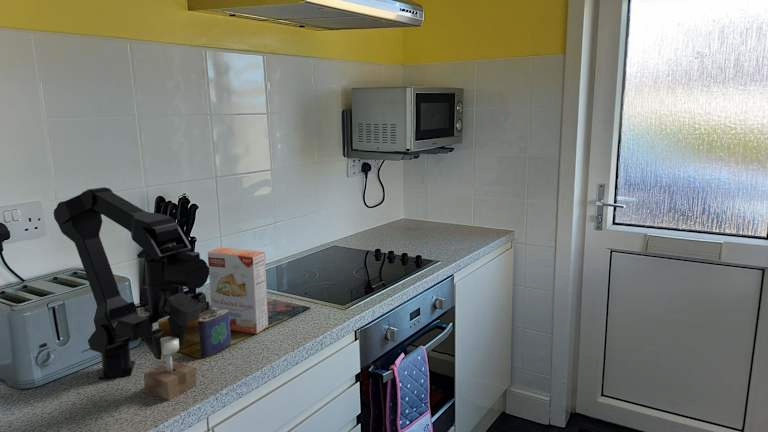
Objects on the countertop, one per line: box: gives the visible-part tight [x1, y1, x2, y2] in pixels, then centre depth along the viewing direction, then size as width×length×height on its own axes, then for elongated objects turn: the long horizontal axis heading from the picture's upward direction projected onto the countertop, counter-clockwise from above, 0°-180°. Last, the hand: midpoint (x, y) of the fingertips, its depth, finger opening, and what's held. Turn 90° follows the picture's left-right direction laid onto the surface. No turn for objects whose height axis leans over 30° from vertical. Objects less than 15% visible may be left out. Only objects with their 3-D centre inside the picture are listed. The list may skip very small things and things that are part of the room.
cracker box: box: [207, 247, 269, 335], centre depth 145 cm, size 14×6×21 cm, turn 68°
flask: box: [197, 307, 232, 359], centre depth 132 cm, size 9×3×11 cm, turn 152°
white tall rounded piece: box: [160, 335, 180, 374], centre depth 114 cm, size 4×4×8 cm
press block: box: [143, 360, 197, 401], centre depth 114 cm, size 7×7×4 cm
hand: (168, 354), depth 113 cm, fingers closed on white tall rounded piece, 4 cm apart
